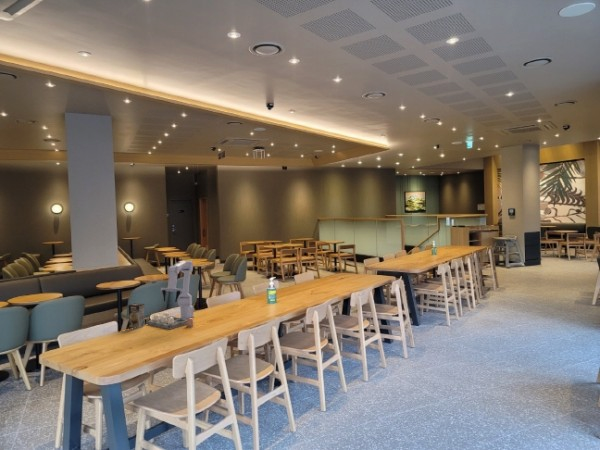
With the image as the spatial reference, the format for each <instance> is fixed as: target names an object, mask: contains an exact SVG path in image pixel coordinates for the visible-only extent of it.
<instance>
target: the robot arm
mask: <svg viewBox="0 0 600 450" xmlns="http://www.w3.org/2000/svg"><path fill="white" fill-rule="evenodd" d="M193 263H194V262H193V260H180V261H178V262H175V264H173V265H172V266H171V265H170V266H169V267H168V270H167V271H168V272H167V273H168V274H167V275H168V281H167V282H168V283H167V287H160V292H162V295H163V302H166V297H167V296H166V294H167V292H176V293H175V300H174V301H175V303H177V306H179V310H180V312H179V313H180V316H179V317H178V318H183V319H189V318H193V317H195V315H194V306H193V295H192V294H190V283H191V273H192V272H193V269H194V264H193ZM180 272H181V273H183V281H182V288H177V283H178V282H177V281H178V274H180Z"/></svg>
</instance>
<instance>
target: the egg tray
mask: <svg viewBox="0 0 600 450" xmlns="http://www.w3.org/2000/svg"><path fill="white" fill-rule="evenodd" d="M187 319H188V318H187ZM187 319H183V318H178V317H177V316H171V315H170V313H169V312H168V311H165V312H163V314H162V316H160V314H158V313H157V314H156V313H155V315H154V316H153V319H149V320H147V321H146V325H149V326H152V327H158V328H161V329H166V330H173V329H176V328H179V327H182V326H183V327H184V326H187Z"/></svg>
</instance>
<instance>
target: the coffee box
mask: <svg viewBox="0 0 600 450" xmlns="http://www.w3.org/2000/svg"><path fill="white" fill-rule="evenodd" d="M145 322H146V321H145V303H136V302H134V303H131V304H128V325H129V328H137V327H138V328H139V329H140V328H142V327H145V326H146V323H145ZM138 328H137V329H138Z"/></svg>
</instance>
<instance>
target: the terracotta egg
mask: <svg viewBox="0 0 600 450" xmlns="http://www.w3.org/2000/svg"><path fill="white" fill-rule="evenodd" d="M186 327H187V328H192V327H194V319H193V317H191V318H187V324H186Z"/></svg>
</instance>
